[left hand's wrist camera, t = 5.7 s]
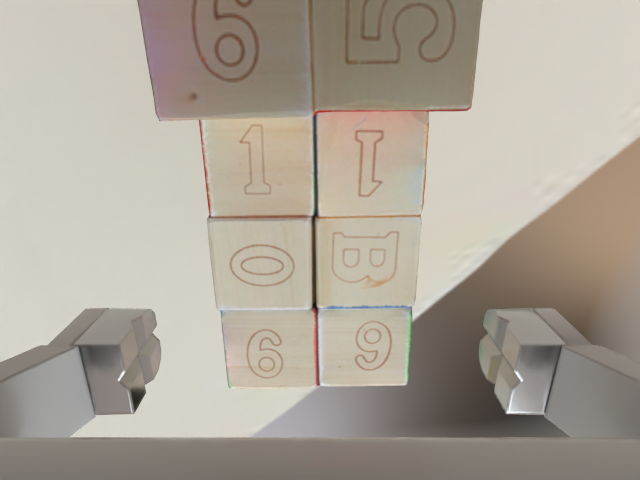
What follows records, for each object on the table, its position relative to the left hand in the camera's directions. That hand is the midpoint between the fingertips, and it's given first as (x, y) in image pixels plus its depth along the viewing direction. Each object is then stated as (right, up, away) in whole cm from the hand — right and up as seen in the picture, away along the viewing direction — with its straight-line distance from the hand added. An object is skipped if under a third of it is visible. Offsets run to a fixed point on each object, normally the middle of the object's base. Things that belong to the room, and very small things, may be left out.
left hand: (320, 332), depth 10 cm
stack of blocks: (0, +10, +8) cm, 13 cm away
